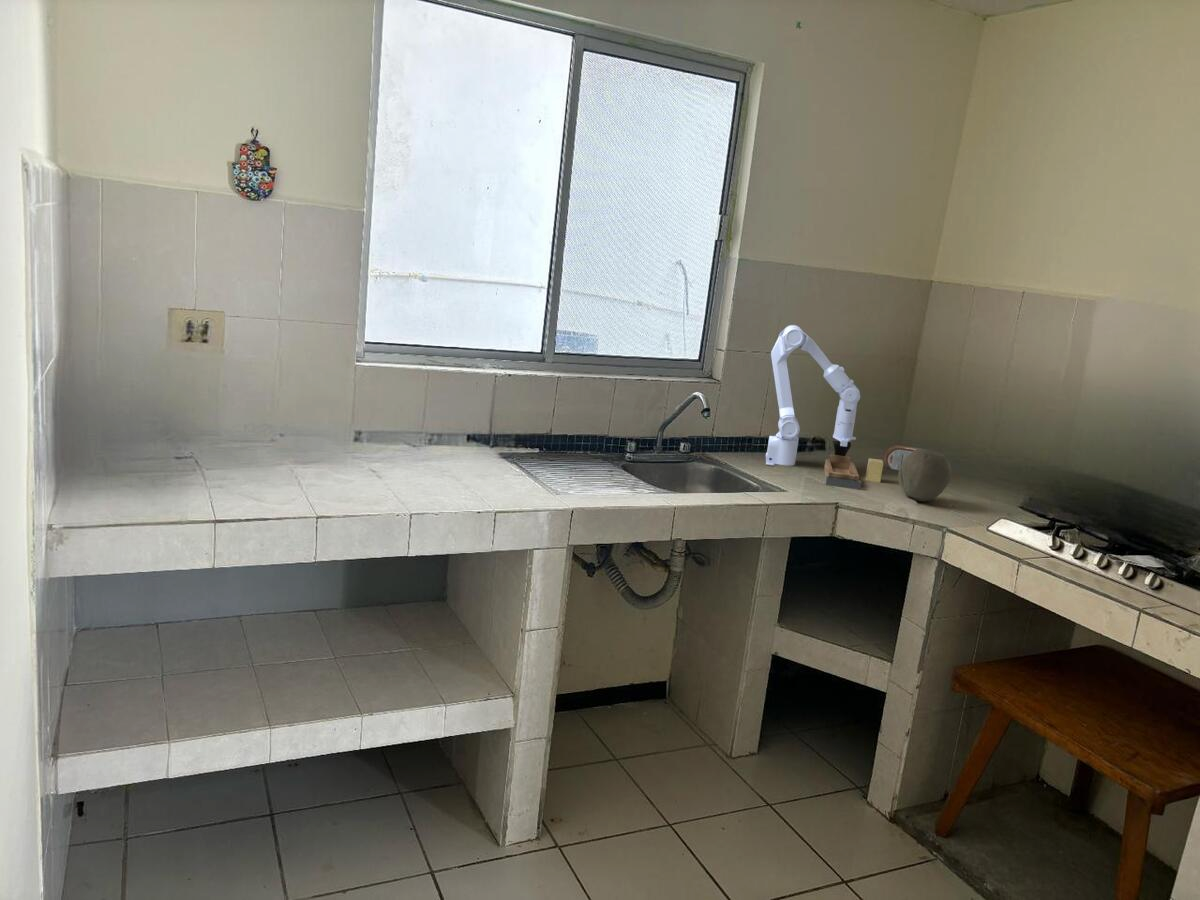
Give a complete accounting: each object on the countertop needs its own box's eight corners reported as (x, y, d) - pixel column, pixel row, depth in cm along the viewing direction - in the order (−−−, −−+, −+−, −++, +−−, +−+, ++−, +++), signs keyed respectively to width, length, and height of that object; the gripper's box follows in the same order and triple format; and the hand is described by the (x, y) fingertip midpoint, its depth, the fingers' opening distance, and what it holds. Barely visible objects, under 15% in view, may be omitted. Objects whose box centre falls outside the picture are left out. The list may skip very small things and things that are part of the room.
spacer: (866, 483, 285) (869, 460, 284) (864, 480, 289) (868, 458, 288) (879, 484, 285) (883, 462, 283) (878, 481, 289) (881, 459, 287)
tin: (928, 474, 307) (932, 449, 305) (930, 476, 304) (935, 451, 302) (881, 468, 308) (886, 443, 306) (883, 470, 305) (887, 445, 303)
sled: (827, 483, 277) (830, 467, 276) (824, 468, 296) (826, 453, 295) (857, 487, 275) (859, 471, 274) (851, 472, 295) (854, 457, 293)
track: (823, 487, 274) (825, 477, 273) (819, 466, 302) (820, 457, 301) (862, 492, 272) (863, 483, 272) (853, 470, 300) (855, 461, 299)
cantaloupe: (939, 510, 261) (949, 458, 258) (889, 499, 268) (897, 448, 265) (950, 501, 273) (959, 451, 270) (901, 490, 280) (910, 441, 277)
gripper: (860, 428, 286) (853, 471, 289) (856, 420, 300) (849, 461, 303) (836, 425, 287) (829, 467, 290) (833, 417, 301) (827, 458, 304)
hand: (838, 464), depth 296 cm, fingers closed
